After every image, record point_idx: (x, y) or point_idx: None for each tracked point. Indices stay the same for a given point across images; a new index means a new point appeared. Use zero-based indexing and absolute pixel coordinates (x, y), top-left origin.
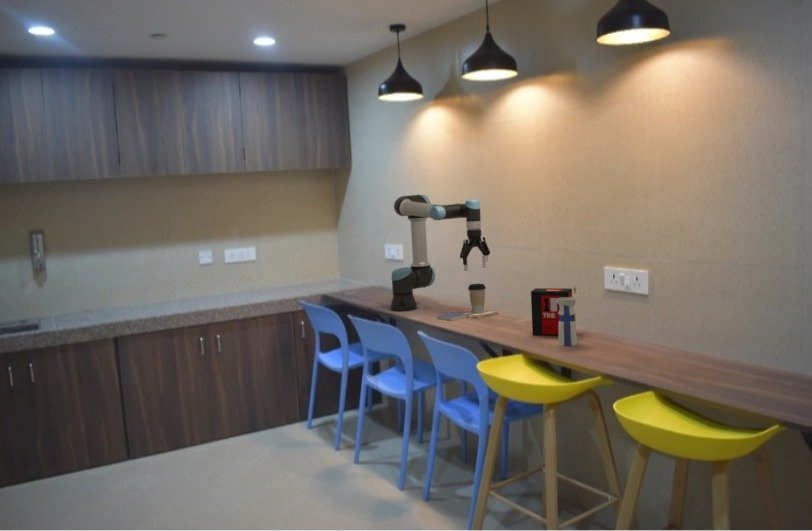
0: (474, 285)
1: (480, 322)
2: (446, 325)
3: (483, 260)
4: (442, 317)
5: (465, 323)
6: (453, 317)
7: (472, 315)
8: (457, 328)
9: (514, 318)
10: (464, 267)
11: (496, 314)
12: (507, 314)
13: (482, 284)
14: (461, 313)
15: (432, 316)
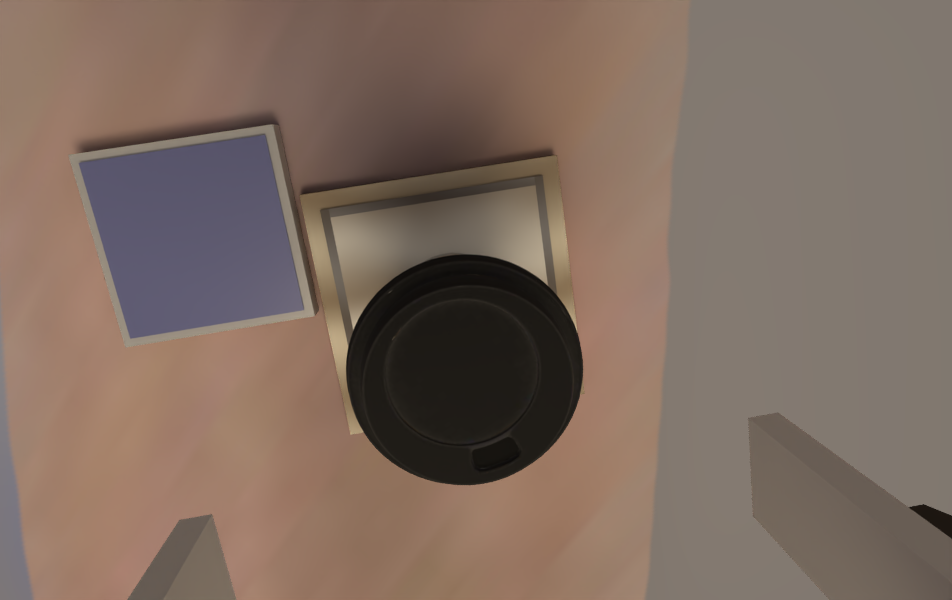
0: (428, 391)
1: (289, 539)
2: (18, 455)
3: (859, 550)
4: (94, 232)
5: (180, 494)
6: (156, 337)
7: None
8: (38, 595)
9: (551, 588)
10: (148, 586)
11: None
12: (618, 443)
13: (538, 427)
14: (325, 213)
15: (97, 16)
